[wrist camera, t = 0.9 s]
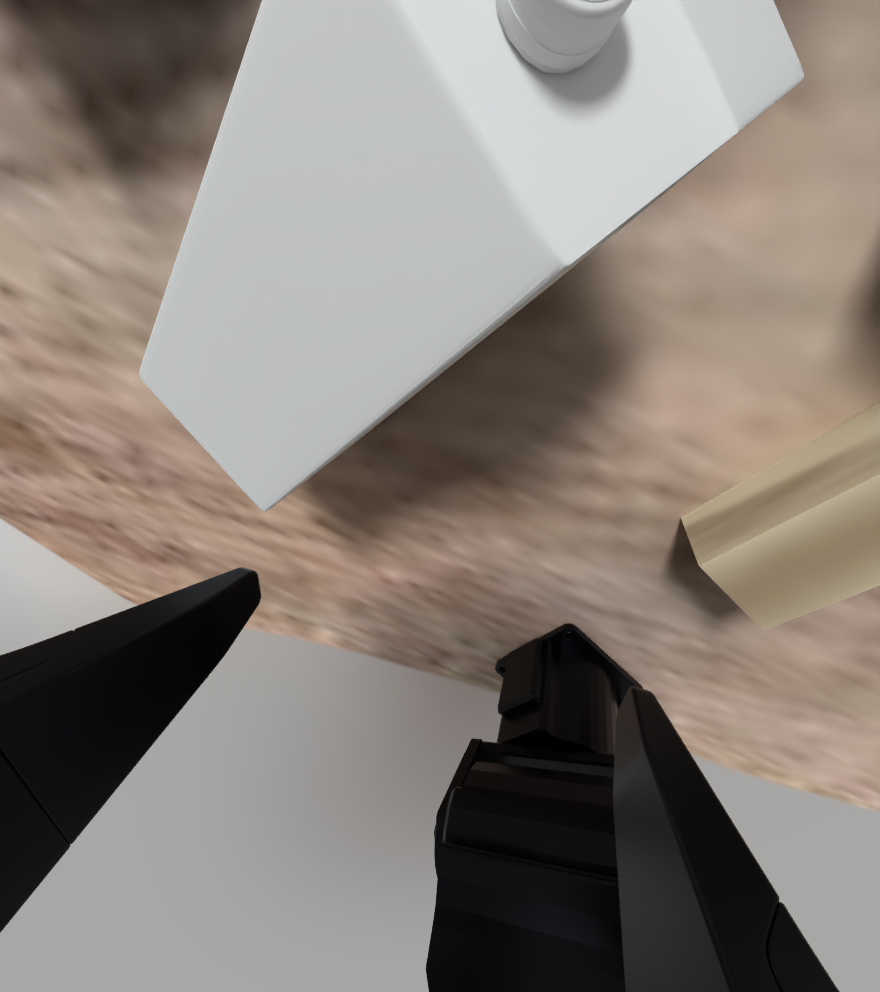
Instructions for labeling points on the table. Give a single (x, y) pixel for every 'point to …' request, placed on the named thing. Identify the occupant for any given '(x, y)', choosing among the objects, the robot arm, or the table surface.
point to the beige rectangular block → (798, 527)
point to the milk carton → (424, 196)
